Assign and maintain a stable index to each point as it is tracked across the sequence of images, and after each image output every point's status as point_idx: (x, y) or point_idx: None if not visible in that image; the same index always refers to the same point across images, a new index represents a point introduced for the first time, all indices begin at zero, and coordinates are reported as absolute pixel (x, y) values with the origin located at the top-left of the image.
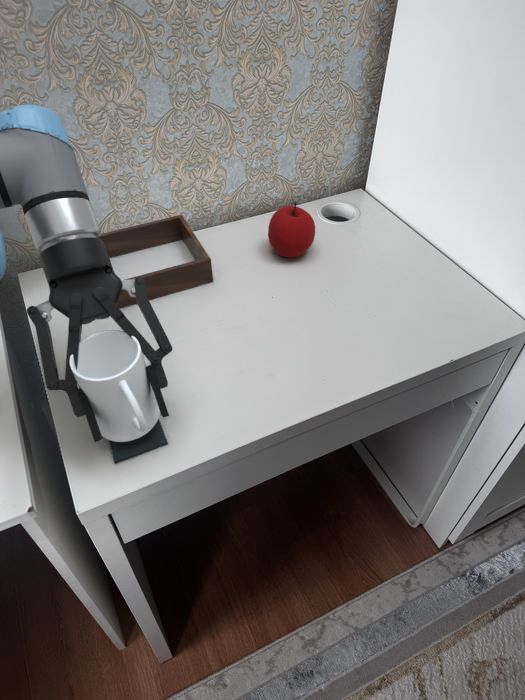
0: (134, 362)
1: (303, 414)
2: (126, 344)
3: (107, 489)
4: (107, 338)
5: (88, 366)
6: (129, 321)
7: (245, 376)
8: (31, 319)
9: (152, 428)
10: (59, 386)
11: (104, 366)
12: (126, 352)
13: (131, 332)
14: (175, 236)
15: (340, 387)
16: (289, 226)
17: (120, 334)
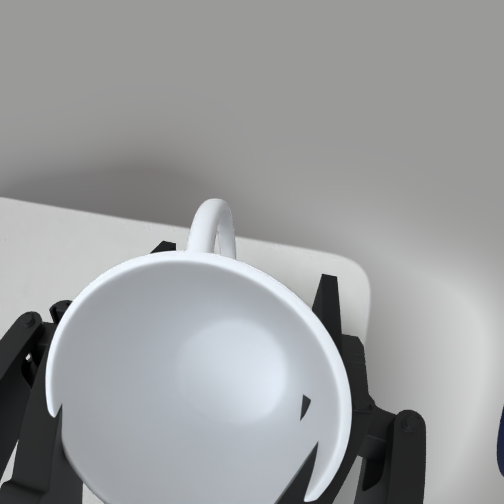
0: (102, 278)
1: (46, 210)
2: (104, 440)
3: (329, 270)
4: (141, 497)
5: (257, 472)
6: (16, 452)
7: (44, 317)
8: None
9: None
10: (384, 421)
11: (214, 463)
12: (129, 438)
13: (42, 424)
14: None
15: (6, 218)
16: None
17: (86, 465)
